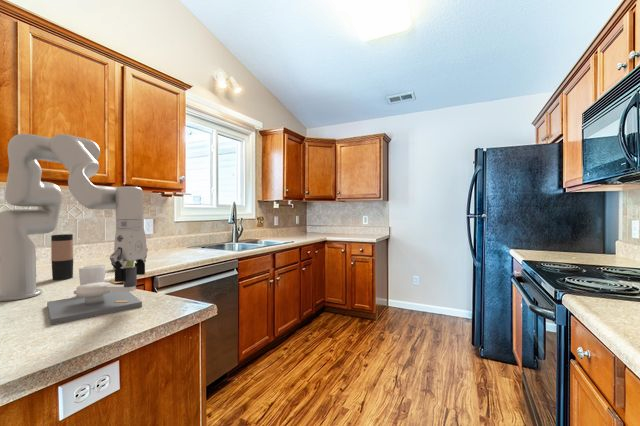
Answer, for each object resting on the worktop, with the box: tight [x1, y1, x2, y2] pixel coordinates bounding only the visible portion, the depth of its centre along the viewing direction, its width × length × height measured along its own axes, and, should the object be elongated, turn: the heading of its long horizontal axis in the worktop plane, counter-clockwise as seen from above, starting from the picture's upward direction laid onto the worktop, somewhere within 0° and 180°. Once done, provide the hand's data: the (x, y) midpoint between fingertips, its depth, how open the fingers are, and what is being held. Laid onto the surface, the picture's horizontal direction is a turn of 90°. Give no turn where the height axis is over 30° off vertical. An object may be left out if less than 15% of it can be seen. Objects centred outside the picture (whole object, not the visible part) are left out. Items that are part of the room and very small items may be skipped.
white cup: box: [78, 264, 106, 286], centre depth 114 cm, size 8×8×10 cm
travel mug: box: [50, 233, 74, 281], centre depth 138 cm, size 8×8×20 cm
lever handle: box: [73, 265, 138, 297], centre depth 98 cm, size 20×10×8 cm, turn 88°
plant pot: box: [120, 261, 135, 267], centre depth 163 cm, size 9×9×9 cm
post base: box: [46, 291, 143, 326], centre depth 98 cm, size 22×22×4 cm
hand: (130, 277), depth 98 cm, fingers open, 9 cm apart
